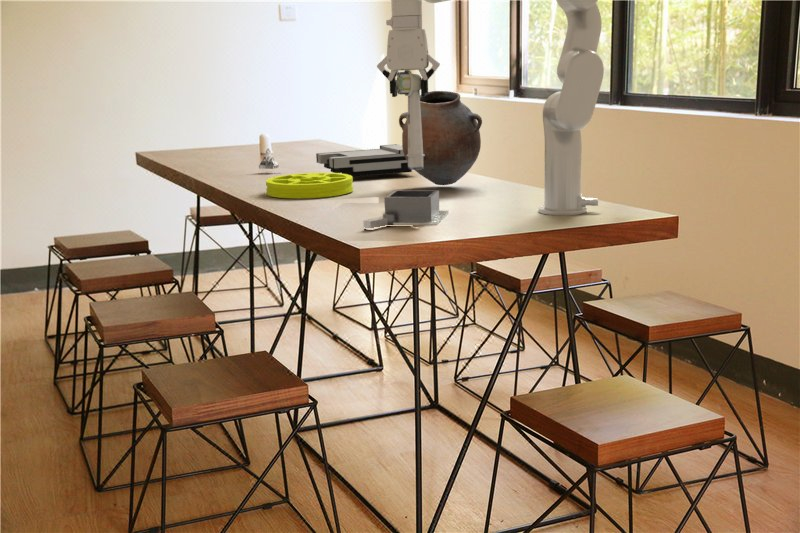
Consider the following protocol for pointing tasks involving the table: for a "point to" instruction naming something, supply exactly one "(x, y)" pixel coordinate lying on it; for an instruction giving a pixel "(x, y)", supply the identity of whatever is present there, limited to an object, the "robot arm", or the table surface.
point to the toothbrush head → (412, 116)
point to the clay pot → (445, 137)
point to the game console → (366, 161)
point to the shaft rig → (410, 209)
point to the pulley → (309, 185)
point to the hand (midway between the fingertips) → (409, 95)
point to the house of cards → (268, 162)
